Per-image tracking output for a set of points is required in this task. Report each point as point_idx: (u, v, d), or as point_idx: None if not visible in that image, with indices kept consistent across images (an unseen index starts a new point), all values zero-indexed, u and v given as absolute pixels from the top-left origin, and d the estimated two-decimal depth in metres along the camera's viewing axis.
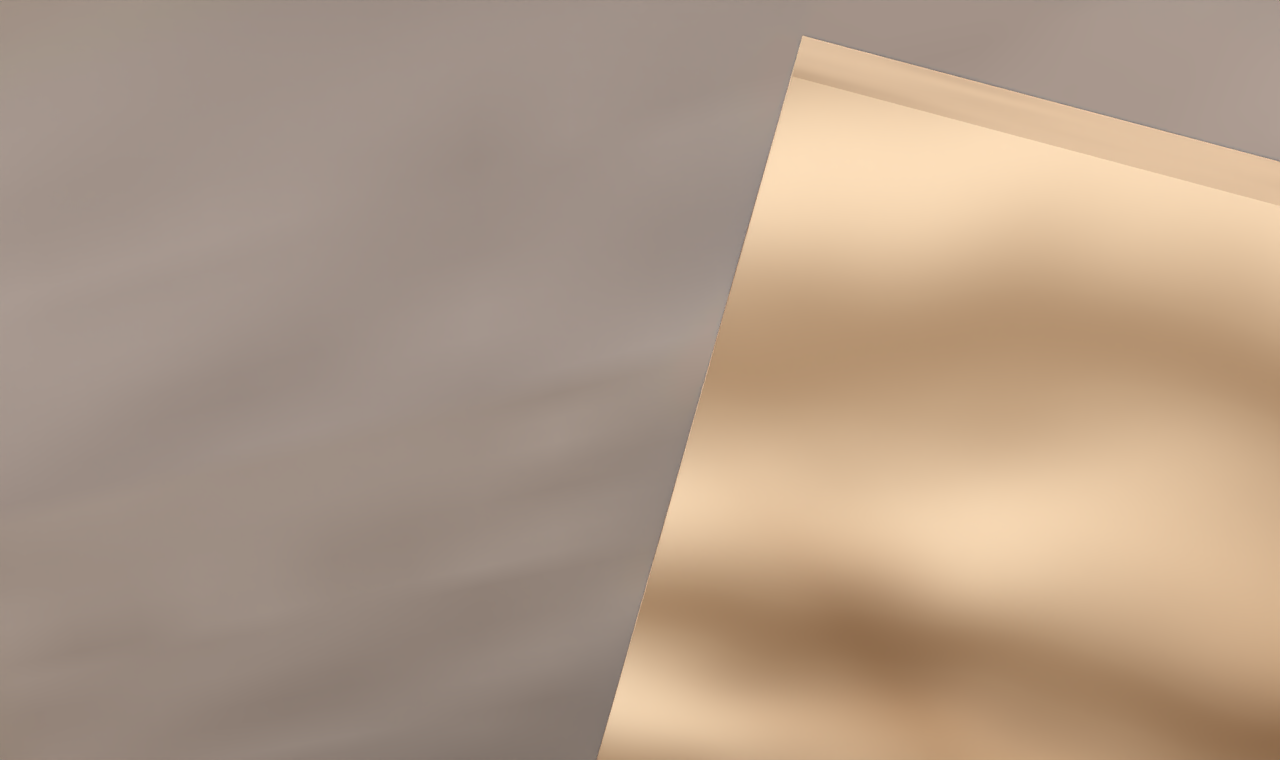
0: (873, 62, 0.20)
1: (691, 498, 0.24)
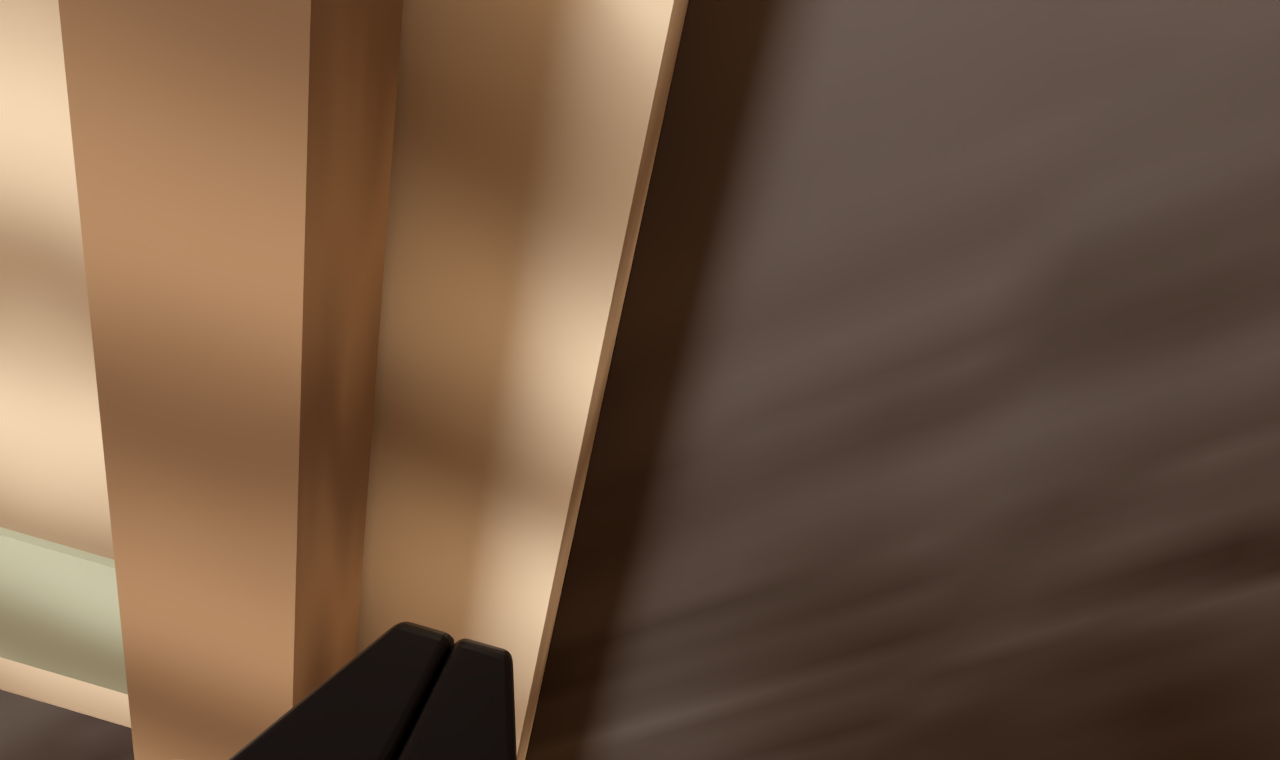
0: None
1: None
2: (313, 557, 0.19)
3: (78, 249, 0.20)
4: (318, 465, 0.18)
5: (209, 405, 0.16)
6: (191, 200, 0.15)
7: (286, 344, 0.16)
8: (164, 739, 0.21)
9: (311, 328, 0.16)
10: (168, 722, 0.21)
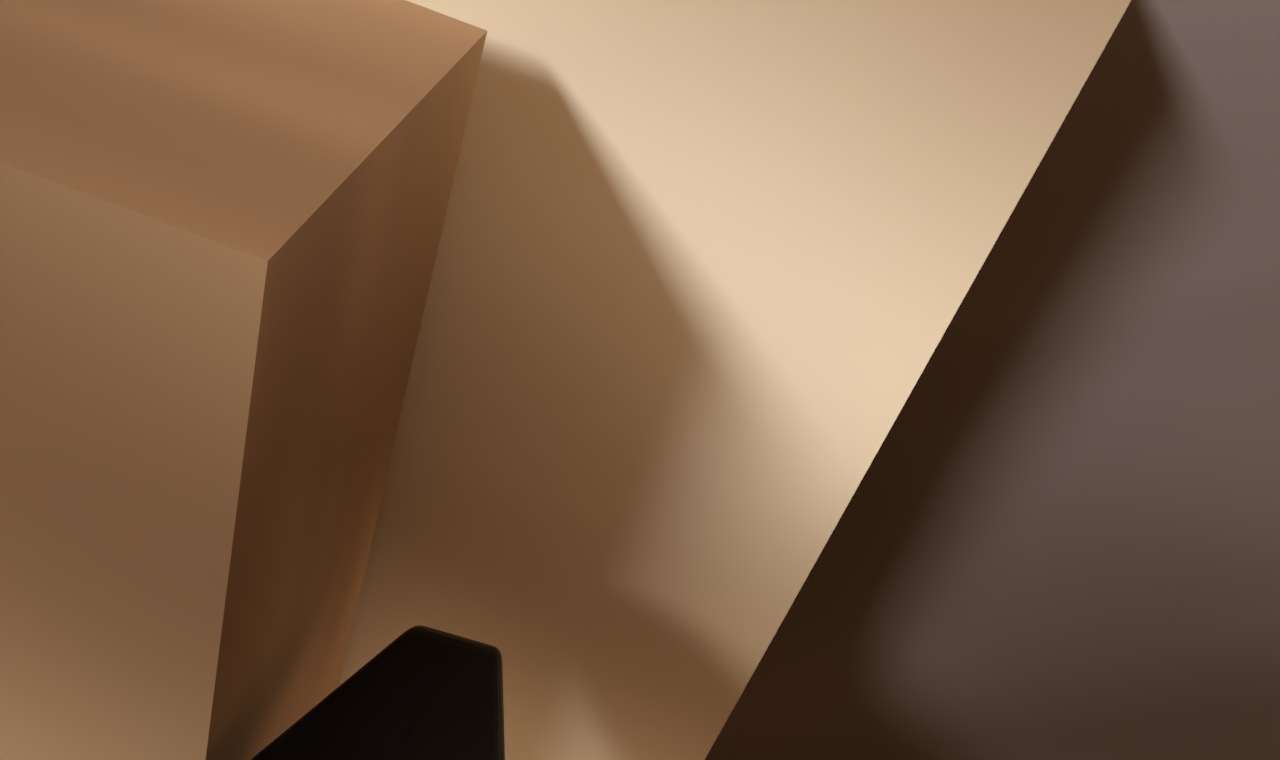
0: None
1: None
2: None
3: None
4: None
5: None
6: None
7: None
8: None
9: None
10: None
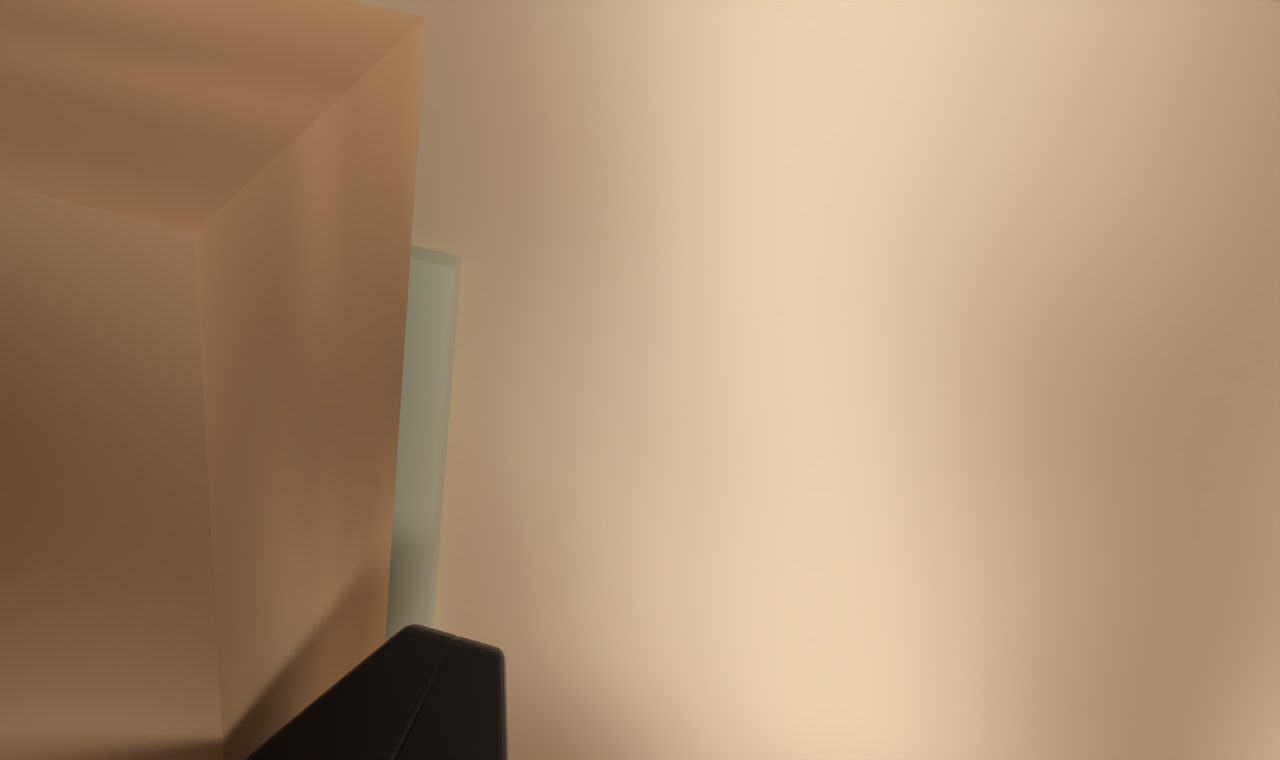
0: None
1: None
2: None
3: None
4: None
5: None
6: None
7: None
8: None
9: None
10: None
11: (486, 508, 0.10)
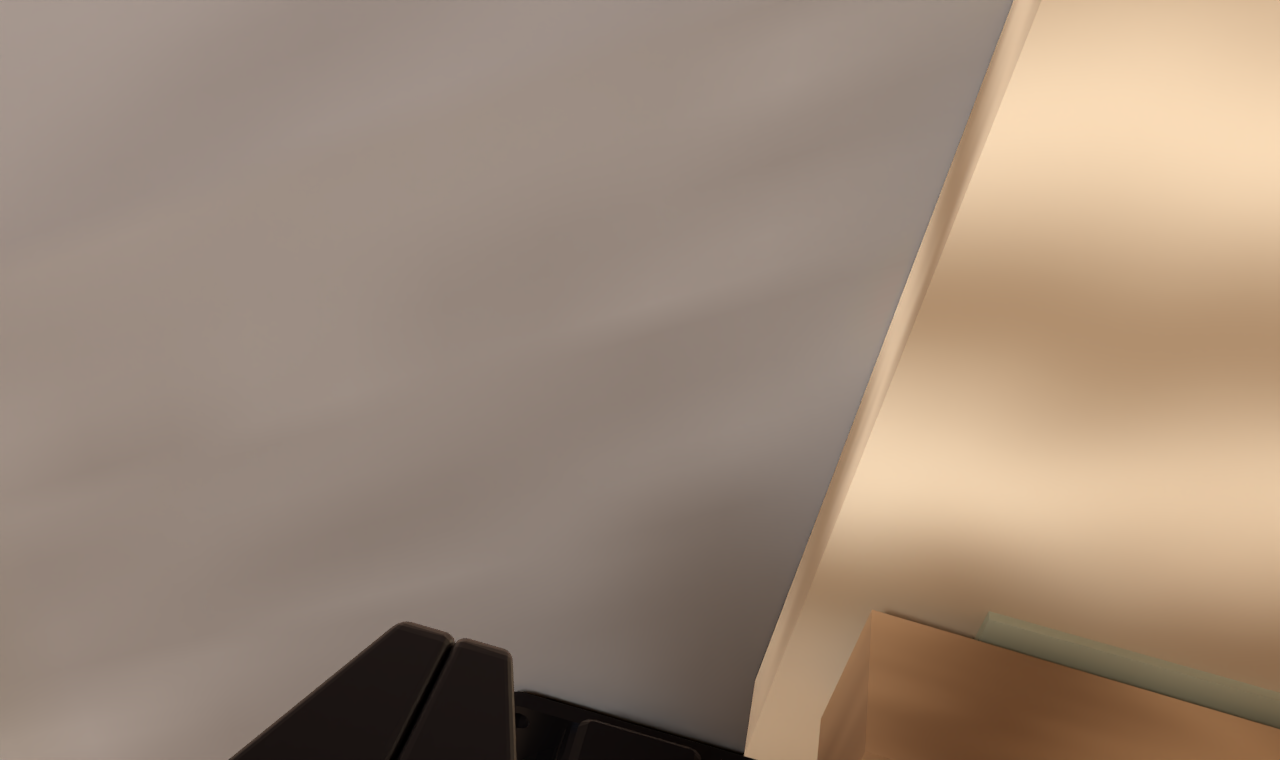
0: None
1: (1030, 108, 0.15)
2: None
3: None
4: None
5: None
6: None
7: None
8: None
9: None
10: None
11: (1141, 634, 0.20)
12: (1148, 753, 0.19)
